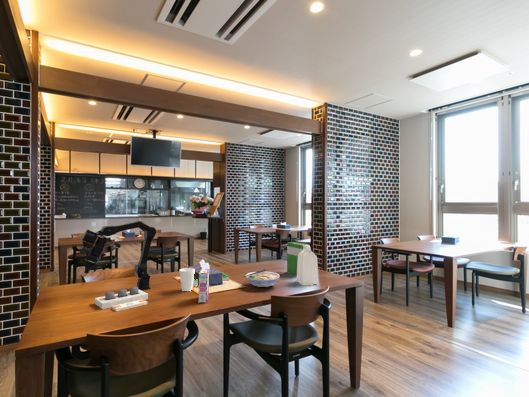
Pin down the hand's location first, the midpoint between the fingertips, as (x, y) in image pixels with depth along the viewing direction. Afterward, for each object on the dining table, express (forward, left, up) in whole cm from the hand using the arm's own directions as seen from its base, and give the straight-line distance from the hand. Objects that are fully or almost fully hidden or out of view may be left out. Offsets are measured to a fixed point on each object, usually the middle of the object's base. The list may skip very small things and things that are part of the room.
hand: (86, 272), depth 173 cm
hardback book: (-136, +46, -15) cm, 144 cm away
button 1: (-6, +20, -12) cm, 24 cm away
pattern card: (-13, +31, -15) cm, 36 cm away
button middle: (-13, +20, -12) cm, 26 cm away
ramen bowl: (-91, +52, -15) cm, 106 cm away
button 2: (-19, +20, -12) cm, 30 cm away
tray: (-72, +14, -15) cm, 75 cm away
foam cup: (-50, +26, -15) cm, 58 cm away
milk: (-120, +67, -15) cm, 138 cm away
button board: (-13, +20, -15) cm, 28 cm away
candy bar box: (-47, +49, -15) cm, 69 cm away
